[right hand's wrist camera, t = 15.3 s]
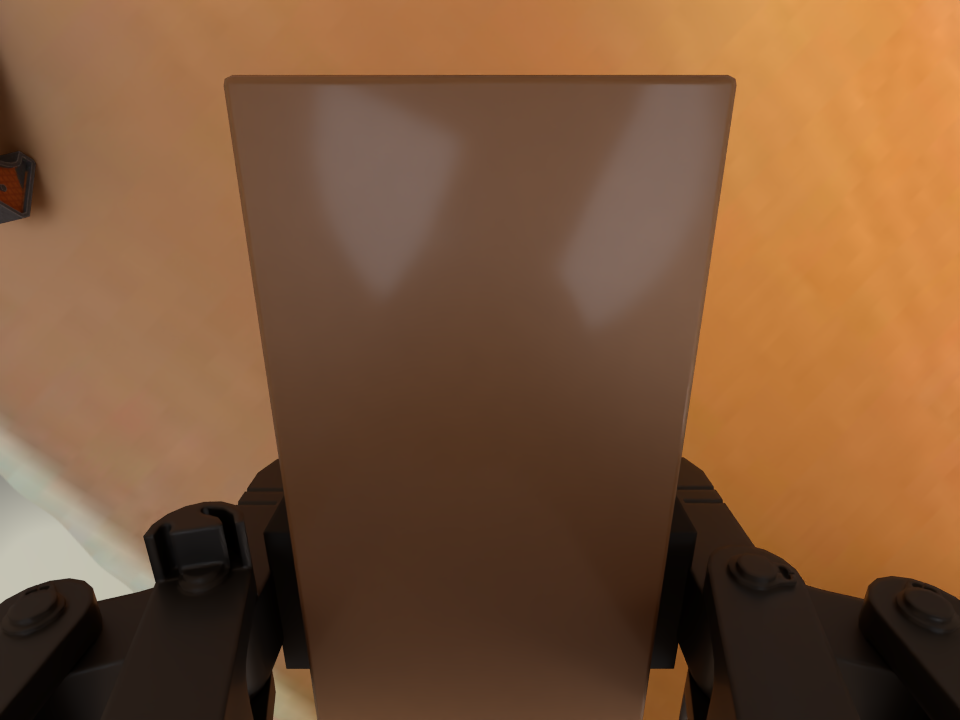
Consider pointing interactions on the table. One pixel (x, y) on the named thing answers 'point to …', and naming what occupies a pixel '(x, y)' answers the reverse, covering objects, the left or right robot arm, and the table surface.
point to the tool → (16, 186)
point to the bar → (480, 373)
